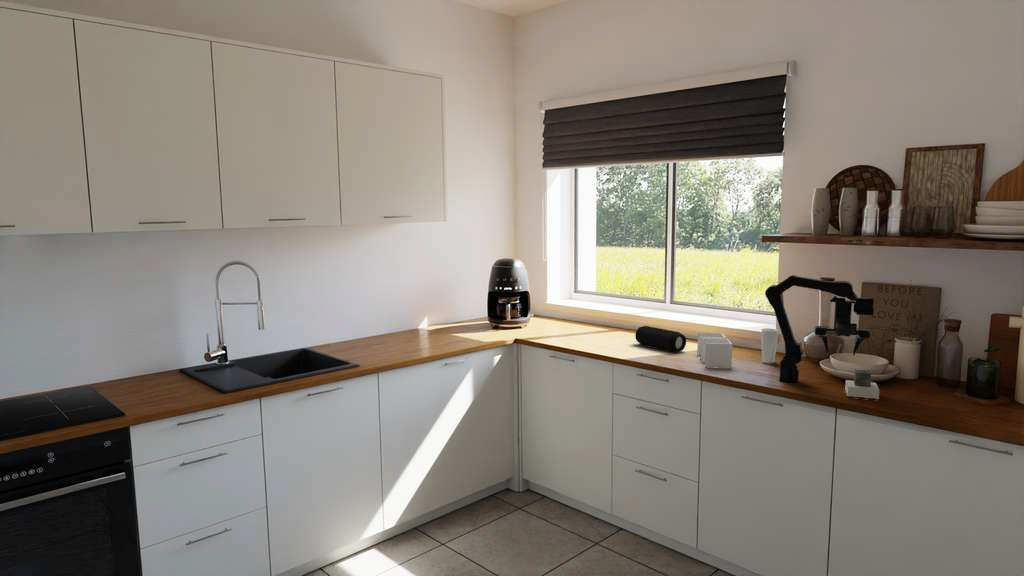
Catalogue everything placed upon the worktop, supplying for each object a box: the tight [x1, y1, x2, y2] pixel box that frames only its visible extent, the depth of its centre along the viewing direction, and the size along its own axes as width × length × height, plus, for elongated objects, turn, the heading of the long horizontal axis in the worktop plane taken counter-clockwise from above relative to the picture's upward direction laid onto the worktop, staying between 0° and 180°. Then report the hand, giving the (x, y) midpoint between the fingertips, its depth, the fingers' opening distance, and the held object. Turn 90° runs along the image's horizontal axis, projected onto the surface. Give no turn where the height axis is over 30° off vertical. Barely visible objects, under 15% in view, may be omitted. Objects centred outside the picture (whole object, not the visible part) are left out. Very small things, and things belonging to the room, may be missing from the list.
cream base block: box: [844, 379, 880, 400], centre depth 238 cm, size 10×10×4 cm
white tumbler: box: [760, 327, 779, 365], centre depth 289 cm, size 7×7×15 cm
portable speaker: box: [634, 325, 687, 353], centre depth 319 cm, size 26×10×10 cm, turn 36°
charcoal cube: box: [853, 369, 872, 387], centre depth 238 cm, size 5×5×5 cm
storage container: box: [696, 332, 733, 369], centre depth 291 cm, size 25×11×11 cm, turn 172°
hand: (840, 353), depth 249 cm, fingers open, 9 cm apart
